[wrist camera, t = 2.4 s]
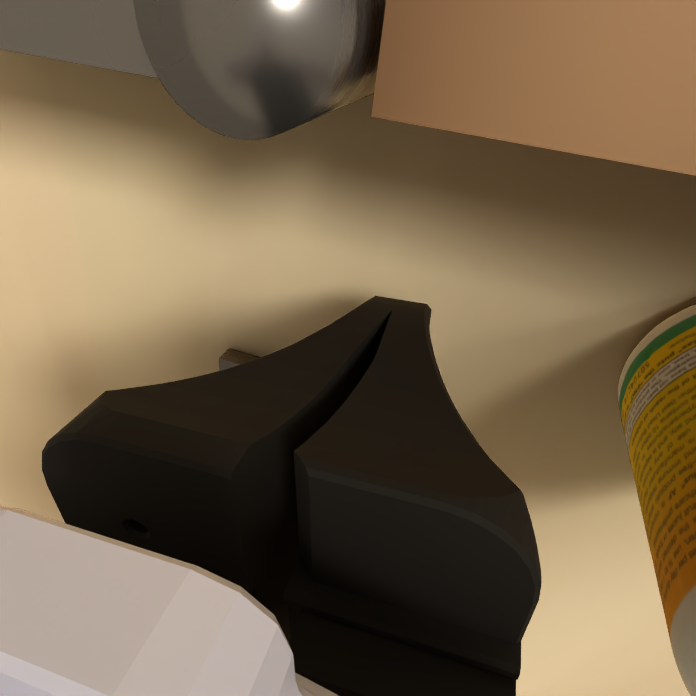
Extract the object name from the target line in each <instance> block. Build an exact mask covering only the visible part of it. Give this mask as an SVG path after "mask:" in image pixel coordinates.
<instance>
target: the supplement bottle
mask: <svg viewBox="0 0 696 696" xmlns="http://www.w3.org/2000/svg"><path fill="white" fill-rule="evenodd" d="M618 402H619V409H620V414H621V421H622V425H623V429H624V433H625V438H626V443H627V448H628V453H629V458H630V463H631V465H632V470H633V474H634V479H635V483H636V487H637V492H638V497H639V502H640V506H641V511H642V515H643V519H644V524H645V528H646V533H647V538H648V543H649V547H650V551H651V555H652V559H653V564H654V568H655V573H656V578H657V582H658V587H659V591H660V596H661V600H662V604H663V609H664V614H665V618H666V623H667V628H668V632H669V637H670V642H671V646H672V650H673V654H674V658H675V661H676V664H677V667H678V670H679V672H680V675H681V677H682V679H683V682H684V684H685V686H686V688H687V690H688V691H689V693H690V695H691V696H696V304H695V305H692V306H690V307H688V308H686V309H684V310H682V311H680V312H678V313H676V314H674V315H672V316H670V317H669V318H667V319H666V320H664V321H663V322H661V323H660V324H659V325H657V326H656V327H654V328H653V329H652V330H651V331H650V332H649V333H648V334H647V335H646V336H645V337H644V338H643V339H642V340H641V341H640V342H639V344H638V345H637V346H636V347H635V348H634V350H633V351H632V353H631V354H630V356H629V357H628V359H627V361H626V363H625V365H624V368H623V370H622V373H621V376H620V379H619V384H618Z"/></svg>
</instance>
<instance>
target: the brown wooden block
mask: <svg viewBox="0 0 696 696" xmlns="http://www.w3.org/2000/svg"><path fill="white" fill-rule="evenodd" d="M371 117H375V118H381V119H386V120H392V121H397V122H403V123H408V124H414V125H419V126H425V127H430V128H436V129H441V130H447V131H452V132H458V133H463V134H469V135H474V136H480V137H485V138H491V139H496V140H502V141H507V142H513V143H518V144H524V145H529V146H535V147H540V148H546V149H551V150H557V151H562V152H568V153H573V154H579V155H584V156H590V157H595V158H601V159H606V160H612V161H617V162H623V163H628V164H634V165H639V166H645V167H650V168H656V169H661V170H667V171H672V172H678V173H683V174H689V175H695V176H696V0H386V6H385V13H384V21H383V29H382V37H381V44H380V52H379V60H378V68H377V75H376V83H375V91H374V99H373V107H372V114H371Z"/></svg>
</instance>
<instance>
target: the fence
mask: <svg viewBox="0 0 696 696" xmlns="http://www.w3.org/2000/svg"><path fill="white" fill-rule="evenodd" d="M385 6H386V0H0V49H1V50H6V51H12V52H17V53H23V54H28V55H34V56H39V57H45V58H50V59H56V60H61V61H67V62H72V63H78V64H83V65H89V66H94V67H100V68H105V69H111V70H116V71H122V72H127V73H133V74H138V75H144V76H149V77H155V78H159V80H160V82H161V83H162V85H163V86H164V88H165V89H166V90H167V92H168V93H169V95H170V96H171V97H172V98H173V99H174V101H175V102H176V103H177V104H178V105H179V106H180V107H181V108H182V109H183V110H184V111H185V112H186V113H187V114H188V115H189V116H191V117H192V118H193V119H194V120H196V121H197V122H198V123H200V124H201V125H203V126H205V127H206V128H208V129H210V130H212V131H214V132H216V133H219V134H221V135H224V136H227V137H231V138H234V139H242V140H259V139H264V138H269V137H272V136H275V135H278V134H280V133H283V132H285V131H287V130H290V129H292V128H294V127H297V126H299V125H301V124H303V123H306V122H308V121H310V120H313V119H315V118H317V117H320V116H322V115H324V114H326V113H329V112H331V111H333V110H336V109H338V108H340V107H343V106H345V105H347V104H349V103H352V102H354V101H356V100H359V99H361V98H363V97H366V96H368V95H370V94H372V93H374V91H375V83H376V75H377V68H378V60H379V52H380V44H381V37H382V29H383V21H384V13H385Z"/></svg>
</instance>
